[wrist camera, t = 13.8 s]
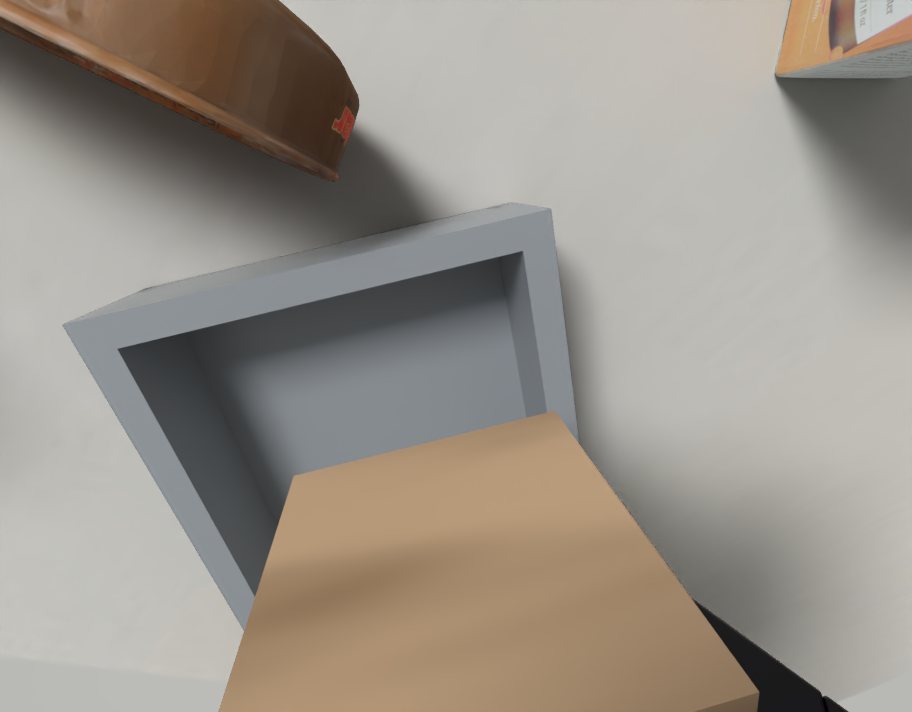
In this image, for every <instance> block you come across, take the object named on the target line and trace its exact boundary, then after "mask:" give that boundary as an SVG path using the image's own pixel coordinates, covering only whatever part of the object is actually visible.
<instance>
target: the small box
mask: <svg viewBox="0 0 912 712" xmlns="http://www.w3.org/2000/svg"><path fill="white" fill-rule="evenodd" d="M775 74H776V75H777V77H789V78H903V77H908V76H912V0H792V2H791V7H790V11H789V16H788V20H787V25H786V30H785V34H784V38H783V42H782V45H781V47H780V51H779V55H778V59H777V64H776V69H775Z"/></svg>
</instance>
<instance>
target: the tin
mask: <svg viewBox="0 0 912 712" xmlns="http://www.w3.org/2000/svg"><path fill="white" fill-rule="evenodd" d="M0 29H2V30H4V31H6V32H8V33H10V34H12V35H15V36H17V37H19V38H22V39H23V40H25V41H27V42H29V43H32V44H34V45H36V46H38V47H40V48H42V49H44V50H46V51H48V52H51V53H53V54H55V55H57V56H59V57H61V58H63V59H66V60H68V61H70V62H72V63H74V64H76V65H78V66H80V67H82V68H85V69H87V70H89V71H91V72H93V73H95V74H97V75H99V76H101V77H103V78H105V79H108V80H110V81H112V82H114V83H116V84H119V85H121V86H123V87H125V88H127V89H129V90H131V91H133V92H135V93H137V94H139V95H141V96H144V97H146V98H148V99H150V100H152V101H154V102H156V103H158V104H160V105H162V106H164V107H167V108H169V109H171V110H173V111H175V112H177V113H179V114H181V115H183V116H185V117H188V118H190V119H192V120H194V121H196V122H198V123H200V124H202V125H205V126H207V127H209V128H211V129H213V130H215V131H218V132H220V133H222V134H224V135H226V136H228V137H230V138H232V139H235V140H237V141H239V142H241V143H243V144H245V145H248V146H250V147H252V148H255V149H257V150H259V151H262V152H264V153H265V154H267V155H270V156H272V157H274V158H276V159H278V160H280V161H282V162H285V163H287V164H289V165H291V166H294V167H296V168H299V169H301V170H303V171H306V172H308V173H310V174H312V175H315V176H318V177H320V178H322V179H325V180H328V181H332V182H334V183H336V182H337V181H338V174H337V170H338V167H339V164H340V161H341V158H342V154H343V152H344V149H345V147H346V144H347V141H348V139H349V136H350V134H351V131H352V128H353V126H354V123H355V120H356V116H357V113H358V110H359V98H358V94H357V92H356V90H355V88H354V86H353V84H352V82H351V80H350V78H349V76H348V74H347V72H346V70H345V68H344V66H343V65H342V63H341V61H340V59H339V58H338V57H337V56H336V54H335V53H334V52H333V51H332V49H331V48H330V47H329V46H328V45H327V44H326V43H325V42H324V41H323V40H322V39H321V38H320V37H319V36H318V35H317V34H316V33H315V32H314V31H313V30H312V29H311V28H310V27H309V26H308V25H307V24H305V23H304V22H303V21H302V20H301V19H300V18H299V17H297V16H296V15H295V14H294V13H293V12H292V11H290V10H289V9H288V8H287V7H286V6H285V5H284V4H282V3H281V2H280V1H279V0H0Z"/></svg>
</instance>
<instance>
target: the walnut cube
mask: <svg viewBox="0 0 912 712" xmlns="http://www.w3.org/2000/svg"><path fill="white" fill-rule="evenodd" d="M758 700H759V691H758V689H757V688H756V687H755V685H754V684H753V683H752V681H751V680H750V678H749V677H748V676H747V674H746V673H745V672H744V670H743V669H742V667H741V666H740V665H739V663H738V662H737V661H736V659H735V658H734V656H733V655H732V654H731V652H730V651H729V650H728V648H727V647H726V645H725V644H724V643H723V641H722V640H721V638H720V637H719V636H718V634H717V633H716V632H715V630H714V629H713V627H712V626H711V625H710V623H709V622H708V621H707V619H706V618H705V616H704V615H703V614H702V612H701V611H700V610H699V608H698V607H697V605H696V604H695V603H694V601H693V600H692V599H691V597H690V596H689V594H688V593H687V592H686V590H685V589H684V588H683V586H682V585H681V583H680V582H679V581H678V579H677V578H676V577H675V575H674V574H673V572H672V571H671V570H670V568H669V567H668V566H667V564H666V563H665V561H664V560H663V559H662V557H661V556H660V555H659V553H658V552H657V550H656V549H655V548H654V546H653V545H652V544H651V542H650V541H649V539H648V538H647V537H646V535H645V534H644V533H643V531H642V530H641V528H640V527H639V526H638V524H637V523H636V522H635V520H634V519H633V517H632V516H631V515H630V513H629V512H628V511H627V509H626V508H625V506H624V505H623V504H622V502H621V501H620V500H619V498H618V497H617V495H616V494H615V493H614V491H613V490H612V489H611V487H610V486H609V484H608V483H607V482H606V480H605V479H604V477H603V476H602V475H601V473H600V472H599V471H598V469H597V468H596V466H595V465H594V464H593V462H592V461H591V460H590V458H589V457H588V455H587V454H586V453H585V451H584V450H583V449H582V447H581V446H580V444H579V443H578V442H577V440H576V439H575V438H574V436H573V435H572V433H571V432H570V431H569V429H568V428H567V427H566V425H565V424H564V422H563V421H562V420H561V418H560V417H559V416H558V414H557V413H556V411H552V412H548V413H544V414H540V415H536V416H532V417H528V418H524V419H520V420H516V421H512V422H508V423H504V424H500V425H496V426H492V427H488V428H484V429H480V430H476V431H472V432H468V433H464V434H460V435H456V436H452V437H448V438H444V439H440V440H436V441H432V442H428V443H424V444H420V445H416V446H412V447H408V448H404V449H400V450H396V451H392V452H388V453H384V454H380V455H376V456H372V457H368V458H364V459H360V460H356V461H352V462H348V463H344V464H340V465H336V466H332V467H328V468H324V469H320V470H316V471H312V472H308V473H304V474H299V475H295V476H294V477H293V480H292V483H291V486H290V489H289V492H288V496H287V499H286V502H285V505H284V508H283V511H282V514H281V518H280V521H279V524H278V527H277V530H276V533H275V536H274V540H273V543H272V546H271V549H270V552H269V555H268V558H267V561H266V565H265V568H264V571H263V574H262V577H261V580H260V583H259V587H258V590H257V593H256V596H255V599H254V602H253V605H252V609H251V612H250V615H249V618H248V621H247V624H246V627H245V630H244V634H243V637H242V640H241V643H240V646H239V649H238V652H237V656H236V659H235V662H234V665H233V668H232V671H231V674H230V678H229V681H228V684H227V687H226V690H225V693H224V696H223V699H222V703H221V706H220V709H219V712H757V708H758Z"/></svg>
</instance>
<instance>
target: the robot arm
mask: <svg viewBox="0 0 912 712" xmlns="http://www.w3.org/2000/svg"><path fill="white" fill-rule="evenodd" d="M691 599H692V598H691ZM692 600H693V601H694V603H695V604H696V605H697V607H698V608H699V610H700V611H701V612H702V614H703V615H704V616H705V618H706V619H707V621H708V622H709V623H710V625H711V626H712V627H713V629H714V630H715V632H716V633H717V634H718V636H719V637H720V638H721V640H722V641H723V643H724V644H725V645H726V647H727V648H728V650H729V651H730V652H731V654H732V655H733V656H734V658H735V659H736V661H737V662H738V663H739V665H740V666H741V667H742V669H743V670H744V672H745V673H746V674H747V676H748V677H749V678H750V680H751V681H752V683H753V684H754V685H755V687H756V688H757V689H758V691H759V700H758V708H757V712H848V711H847V710H845V709H844V708H843V707H841V706H840V705H839V704H837V703H836V702H834V701H833V700H832V699H830V698H829V697H827V696H823V697H822V694H821V692H820V691H819V690H818V689H816V688H815V687H814V686H812V685H811V684H809V683H808V682H807V681H805V680H804V679H803V678H801V677H800V676H798V675H797V674H796V673H794V672H793V671H792V670H790V669H789V668H787V667H786V666H785V665H783V664H782V663H781V662H779V661H778V660H776V659H775V658H774V657H772V656H771V655H770V654H768V653H767V652H765V651H764V650H763V649H761V648H760V647H759V646H757V645H756V644H754V643H753V642H752V641H750V640H749V639H748V638H746V637H745V636H743V635H742V634H741V633H739V632H738V631H737V630H735V629H734V628H732V627H731V626H730V625H728V624H727V623H725V622H724V621H723V620H721V619H720V618H719V617H717V616H716V615H714V614H713V613H712V612H710V611H709V610H708V609H706V608H705V607H703V606H702V605H701V604H699V603H698V602H697V601H695V600H694V599H692Z"/></svg>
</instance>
